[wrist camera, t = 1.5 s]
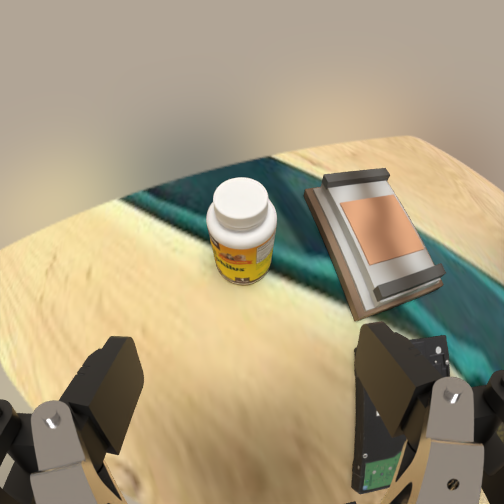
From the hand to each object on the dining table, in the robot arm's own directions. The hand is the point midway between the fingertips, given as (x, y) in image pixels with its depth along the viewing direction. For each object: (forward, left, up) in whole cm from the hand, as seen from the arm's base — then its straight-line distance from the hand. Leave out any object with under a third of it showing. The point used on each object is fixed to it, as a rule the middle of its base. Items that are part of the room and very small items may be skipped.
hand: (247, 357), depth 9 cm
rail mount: (-17, -11, -16) cm, 26 cm away
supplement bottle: (-2, -12, -16) cm, 20 cm away
